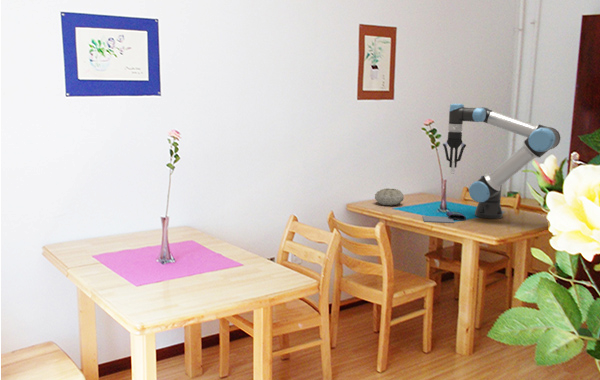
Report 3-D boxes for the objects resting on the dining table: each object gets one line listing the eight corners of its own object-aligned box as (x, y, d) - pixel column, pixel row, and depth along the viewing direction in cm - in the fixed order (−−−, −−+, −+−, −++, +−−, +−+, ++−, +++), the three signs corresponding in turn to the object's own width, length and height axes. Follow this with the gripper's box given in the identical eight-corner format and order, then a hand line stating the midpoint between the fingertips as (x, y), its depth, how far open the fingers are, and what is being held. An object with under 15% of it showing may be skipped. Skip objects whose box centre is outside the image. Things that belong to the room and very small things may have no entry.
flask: (465, 220, 321) (461, 216, 331) (466, 215, 320) (461, 211, 331) (449, 218, 321) (444, 214, 331) (450, 213, 320) (445, 209, 331)
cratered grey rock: (369, 202, 368) (370, 187, 366) (393, 201, 374) (394, 185, 373) (384, 208, 351) (384, 191, 350) (409, 206, 358) (410, 190, 357)
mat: (451, 218, 326) (451, 217, 326) (454, 223, 313) (454, 222, 313) (422, 216, 328) (422, 215, 328) (424, 221, 315) (424, 220, 315)
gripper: (443, 131, 322) (441, 173, 326) (468, 132, 321) (465, 174, 325) (442, 130, 330) (440, 172, 334) (466, 131, 328) (463, 172, 332)
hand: (452, 173), depth 329 cm, fingers closed
